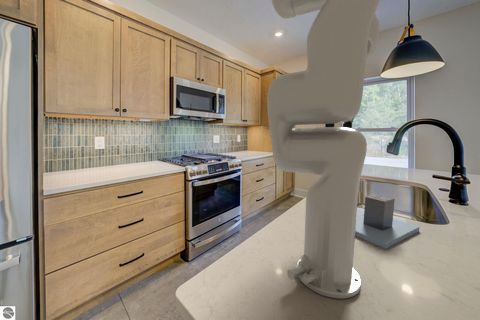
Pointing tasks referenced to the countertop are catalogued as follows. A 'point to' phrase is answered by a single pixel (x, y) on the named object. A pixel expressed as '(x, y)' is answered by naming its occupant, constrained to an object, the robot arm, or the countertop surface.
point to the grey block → (378, 211)
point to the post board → (384, 232)
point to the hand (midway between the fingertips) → (338, 134)
